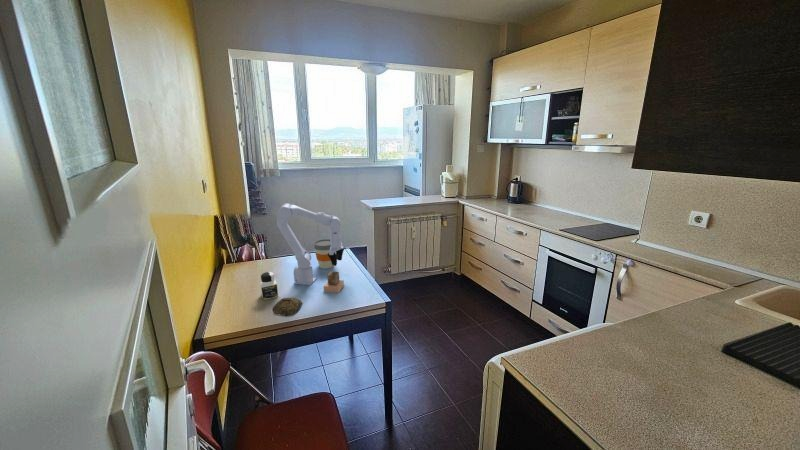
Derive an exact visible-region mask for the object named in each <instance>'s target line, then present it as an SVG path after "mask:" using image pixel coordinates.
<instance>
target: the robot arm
mask: <svg viewBox="0 0 800 450" xmlns="http://www.w3.org/2000/svg"><path fill="white" fill-rule="evenodd" d="M296 216H301V217H305V218H307V219H308V218H309V219H312V220H314V222H315V223H316V224H320V225H323V226H326V227H329V239H330V243H331V247H330V251H329V253H328V256H329V258H330V260H331V262H332V265H333V267H334V266H335V267H337V265H338V261H342V259H343V254H344V251H345V250H346V248H345V246H344V245H343V243H344V242H342V233H341V220H340V218H339V217H338V216H336V215H332V214H331V215H329V214H326V213H325V212H323V211H321V212H320V211H318V212H313V211H310V210H308V209H307V208H306V209H305V208H303V207H301V206H298V205H296V204H291V203H288V202H287V203H286V202H285V203H283V204H282V205H281V207H280V208H279V209H278V211H277V212H276V227H277V229H279V232H280V233H281V235H282V236H283V238H284V239H285V241H286V242H287V244H288V246H289V247H290V248H291V250H292V252H293V254H294V258H295V260H296V261H297V265H295V267H294V269H293V279H294V282H293V284H294V285H304V286H305V285H306V286H310V285H312V284H313V283H314V282H315V281H316V280H317V278H316V277H314V273H313V265H312V263H311V260H312V255H311V254H310V253H309V252H308V251H307V250H306V248H304V247H303V246H302V244H301V243H300V241H299V240H298V237H296V235H295V233H294V231H293V230H292V228H291V226H290V225H289V223H288V222H289V221H290V218H292V217H293V218H294V217H296ZM335 252H336V253H335Z"/></svg>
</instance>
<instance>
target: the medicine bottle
mask: <svg viewBox="0 0 800 450" xmlns="http://www.w3.org/2000/svg"><path fill="white" fill-rule="evenodd" d="M259 283H260V291H261V296H262V300H263V301H264V300H269V299H274V298H278V297H279V290H278V283H277V281H276V278H275V274H274V272H271V271H265V272H263V273H261V275H260V281H259Z"/></svg>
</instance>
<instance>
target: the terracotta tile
mask: <svg viewBox="0 0 800 450" xmlns="http://www.w3.org/2000/svg"><path fill="white" fill-rule="evenodd" d="M344 286H345V281H344V280H341V279H339V283H338V284H337V285H328V281H326V282H325V284H324V285H323V292H324V293H325V292H327V293H338V294H339V292H341V290H342V289H343V288H344Z"/></svg>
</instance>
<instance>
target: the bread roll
mask: <svg viewBox="0 0 800 450" xmlns="http://www.w3.org/2000/svg"><path fill="white" fill-rule="evenodd" d="M302 304H303V301H302V300H301V299H299V298H298V297H293V296H292V297H284V298H281V299H280V300H278V301H277V302H276V304H274V305H273V307H272V309H271V310H272V311H273V313H274V314H275V315H278V314H280V315H279V316H285V317H287V315H289V316H292V315H294V314H295V313H296V312H298V311H299V309H301V307H302Z"/></svg>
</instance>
